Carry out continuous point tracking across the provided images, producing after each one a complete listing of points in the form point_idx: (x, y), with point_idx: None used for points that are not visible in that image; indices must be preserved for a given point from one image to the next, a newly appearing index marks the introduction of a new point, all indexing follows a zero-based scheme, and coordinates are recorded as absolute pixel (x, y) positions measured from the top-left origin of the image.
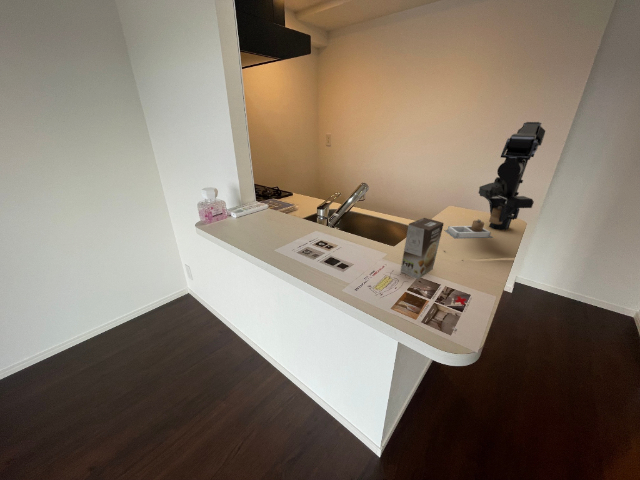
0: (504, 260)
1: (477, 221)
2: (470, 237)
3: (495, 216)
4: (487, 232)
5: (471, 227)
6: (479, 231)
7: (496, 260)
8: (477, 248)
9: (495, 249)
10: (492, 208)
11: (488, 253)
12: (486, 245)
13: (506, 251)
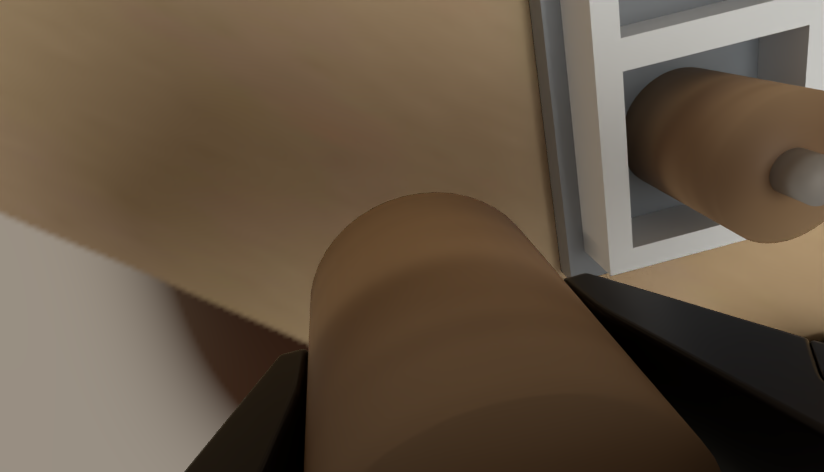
0: (53, 203)
1: (805, 151)
2: (563, 18)
3: (344, 321)
4: (609, 236)
5: (754, 78)
6: (650, 155)
7: (14, 117)
8: (303, 16)
9: (324, 214)
10: (718, 393)
11: (189, 98)
12: (412, 158)
13: (299, 300)
